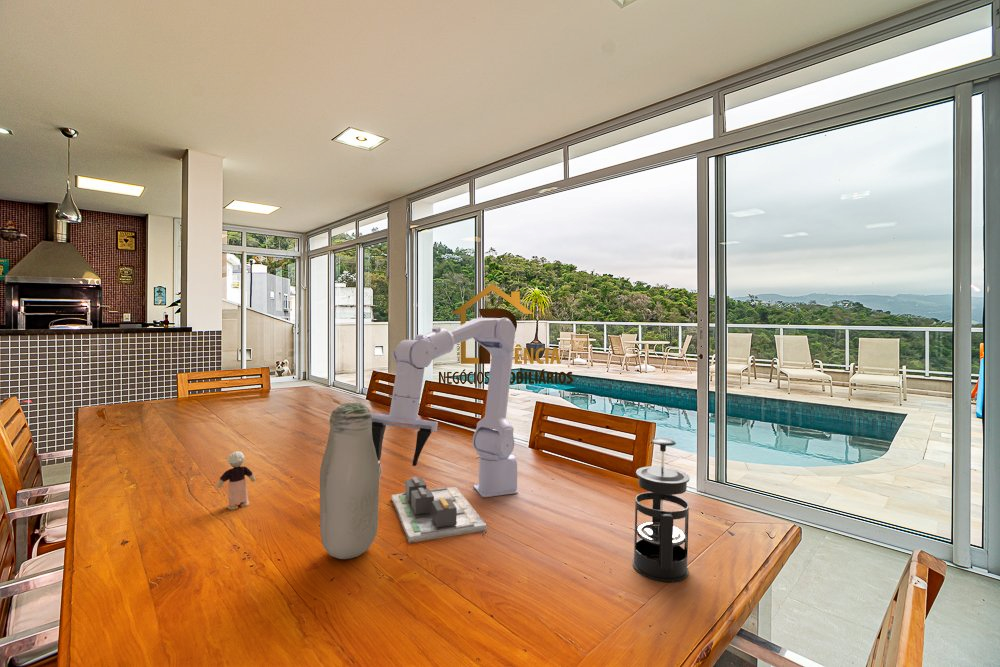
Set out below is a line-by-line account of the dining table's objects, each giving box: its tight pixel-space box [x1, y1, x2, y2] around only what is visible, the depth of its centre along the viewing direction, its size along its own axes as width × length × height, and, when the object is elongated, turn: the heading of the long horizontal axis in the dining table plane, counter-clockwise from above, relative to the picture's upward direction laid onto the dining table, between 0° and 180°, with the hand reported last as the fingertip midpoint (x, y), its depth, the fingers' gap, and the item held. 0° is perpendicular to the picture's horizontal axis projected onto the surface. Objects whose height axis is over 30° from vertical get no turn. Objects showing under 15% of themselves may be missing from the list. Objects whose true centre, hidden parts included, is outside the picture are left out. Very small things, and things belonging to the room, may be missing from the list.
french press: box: [632, 437, 691, 583], centre depth 82 cm, size 12×9×23 cm
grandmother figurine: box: [216, 450, 257, 511], centre depth 107 cm, size 8×4×13 cm, turn 145°
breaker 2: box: [411, 488, 434, 515], centre depth 104 cm, size 4×5×4 cm
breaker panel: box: [391, 486, 487, 544], centre depth 105 cm, size 16×23×2 cm
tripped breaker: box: [432, 498, 457, 528], centre depth 98 cm, size 4×5×4 cm
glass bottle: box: [319, 402, 380, 560], centre depth 86 cm, size 10×10×28 cm
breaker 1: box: [404, 476, 427, 502], centre depth 111 cm, size 4×5×4 cm
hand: (396, 462), depth 96 cm, fingers open, 7 cm apart
